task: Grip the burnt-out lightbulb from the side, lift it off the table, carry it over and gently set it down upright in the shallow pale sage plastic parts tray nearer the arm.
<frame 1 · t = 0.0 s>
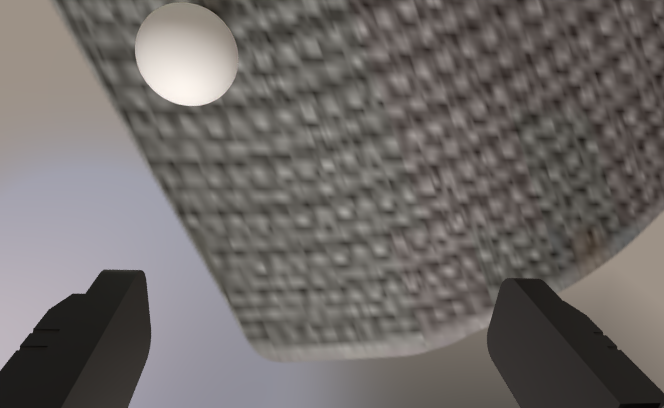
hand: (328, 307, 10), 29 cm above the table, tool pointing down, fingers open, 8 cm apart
lightbulb: (209, 46, 35), on the table
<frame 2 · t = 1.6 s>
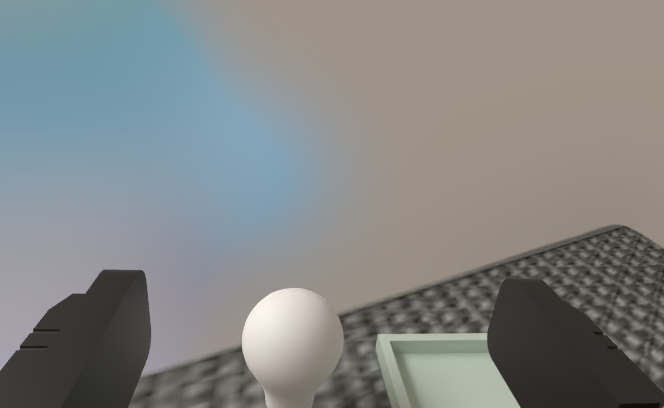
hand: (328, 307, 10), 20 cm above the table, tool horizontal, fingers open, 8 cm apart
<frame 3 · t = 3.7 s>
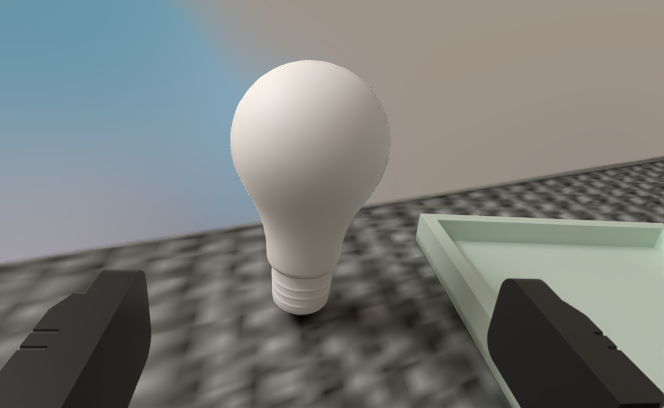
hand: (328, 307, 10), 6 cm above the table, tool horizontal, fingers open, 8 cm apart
lightbulb: (299, 314, 20), on the table
parts tray: (630, 327, 21), on the table
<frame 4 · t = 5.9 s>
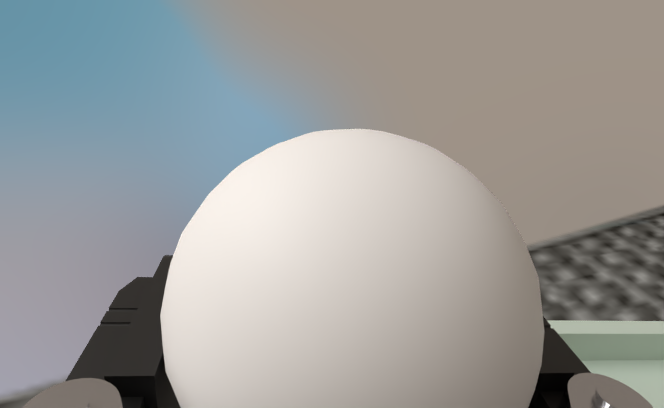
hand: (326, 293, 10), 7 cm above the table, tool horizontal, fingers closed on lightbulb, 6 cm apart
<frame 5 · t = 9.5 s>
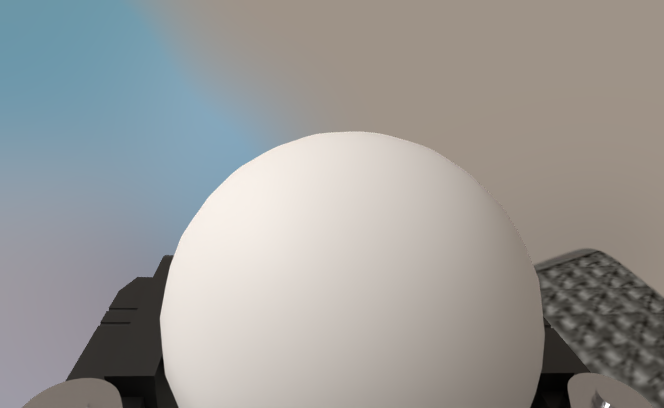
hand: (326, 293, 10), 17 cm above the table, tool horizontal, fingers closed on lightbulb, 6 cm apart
when the fingers open (7 cm above the table, at t = 12.9 s): lightbulb stays where it is, resting on parts tray.
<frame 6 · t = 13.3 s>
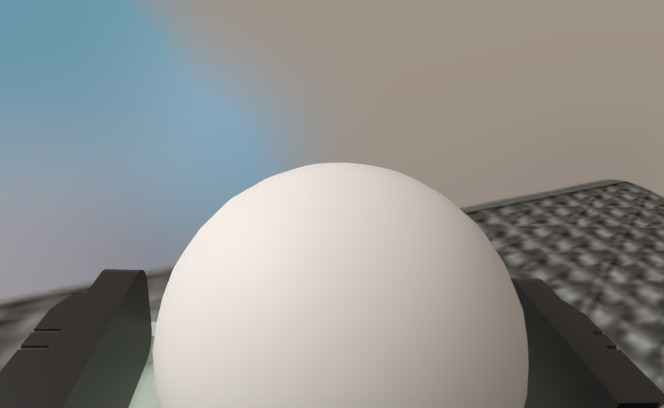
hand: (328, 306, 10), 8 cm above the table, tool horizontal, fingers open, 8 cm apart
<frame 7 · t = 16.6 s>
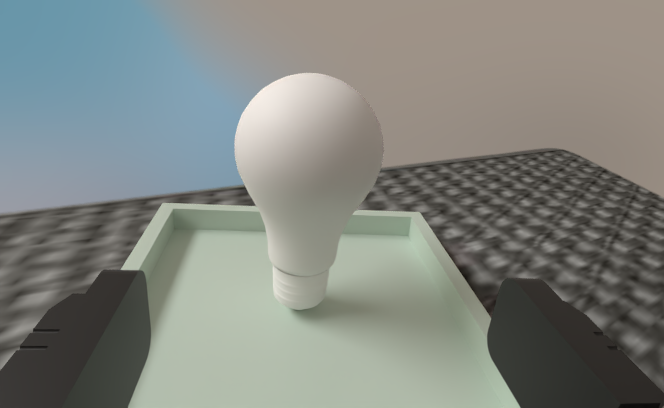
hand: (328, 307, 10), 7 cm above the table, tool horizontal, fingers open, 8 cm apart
lightbulb: (298, 309, 21), resting on parts tray
parts tray: (298, 310, 21), on the table
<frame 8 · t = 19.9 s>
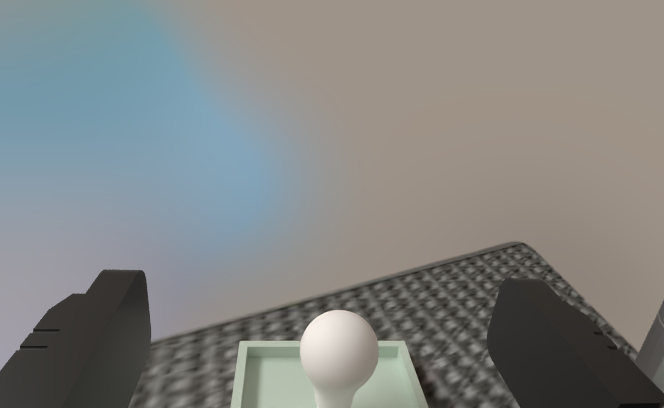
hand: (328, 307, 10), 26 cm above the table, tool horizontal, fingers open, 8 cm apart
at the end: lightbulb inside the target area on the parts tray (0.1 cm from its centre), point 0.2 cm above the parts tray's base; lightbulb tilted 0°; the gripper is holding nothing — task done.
